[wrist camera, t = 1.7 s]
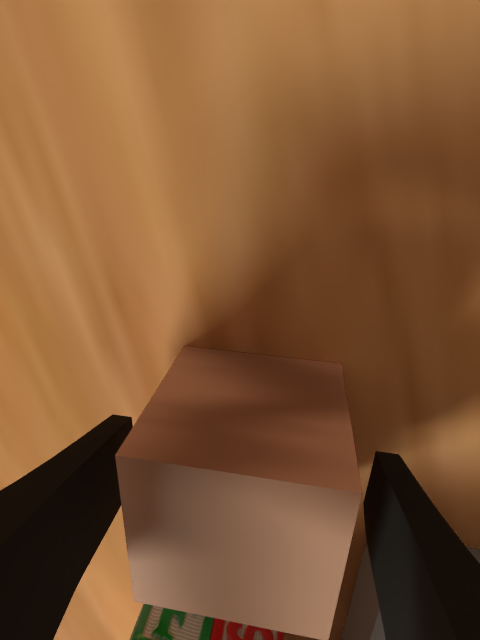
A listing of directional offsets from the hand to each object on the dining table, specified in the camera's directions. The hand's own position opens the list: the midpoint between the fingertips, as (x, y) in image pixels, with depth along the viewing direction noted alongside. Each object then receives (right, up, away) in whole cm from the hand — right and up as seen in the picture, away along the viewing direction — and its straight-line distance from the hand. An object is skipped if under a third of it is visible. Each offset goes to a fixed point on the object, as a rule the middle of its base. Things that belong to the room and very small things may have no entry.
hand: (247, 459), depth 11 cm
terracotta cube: (0, +1, +2) cm, 2 cm away
